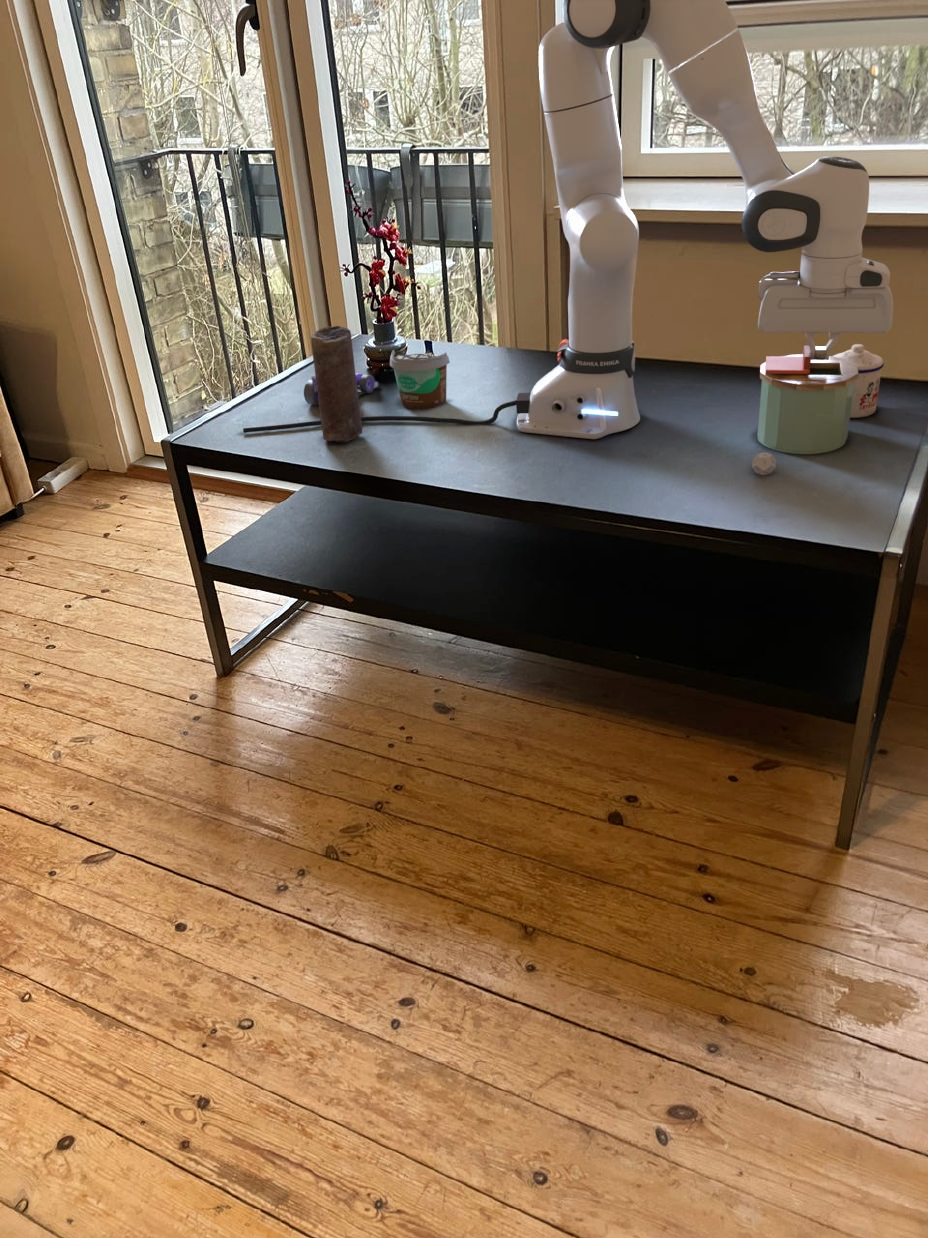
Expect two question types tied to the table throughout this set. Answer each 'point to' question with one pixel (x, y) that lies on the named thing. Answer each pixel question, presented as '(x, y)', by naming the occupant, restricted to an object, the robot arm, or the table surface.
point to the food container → (420, 379)
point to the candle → (336, 383)
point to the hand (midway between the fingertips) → (819, 358)
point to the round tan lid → (814, 376)
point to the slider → (789, 363)
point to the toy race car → (365, 386)
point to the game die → (764, 463)
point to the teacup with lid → (864, 380)
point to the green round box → (804, 417)
